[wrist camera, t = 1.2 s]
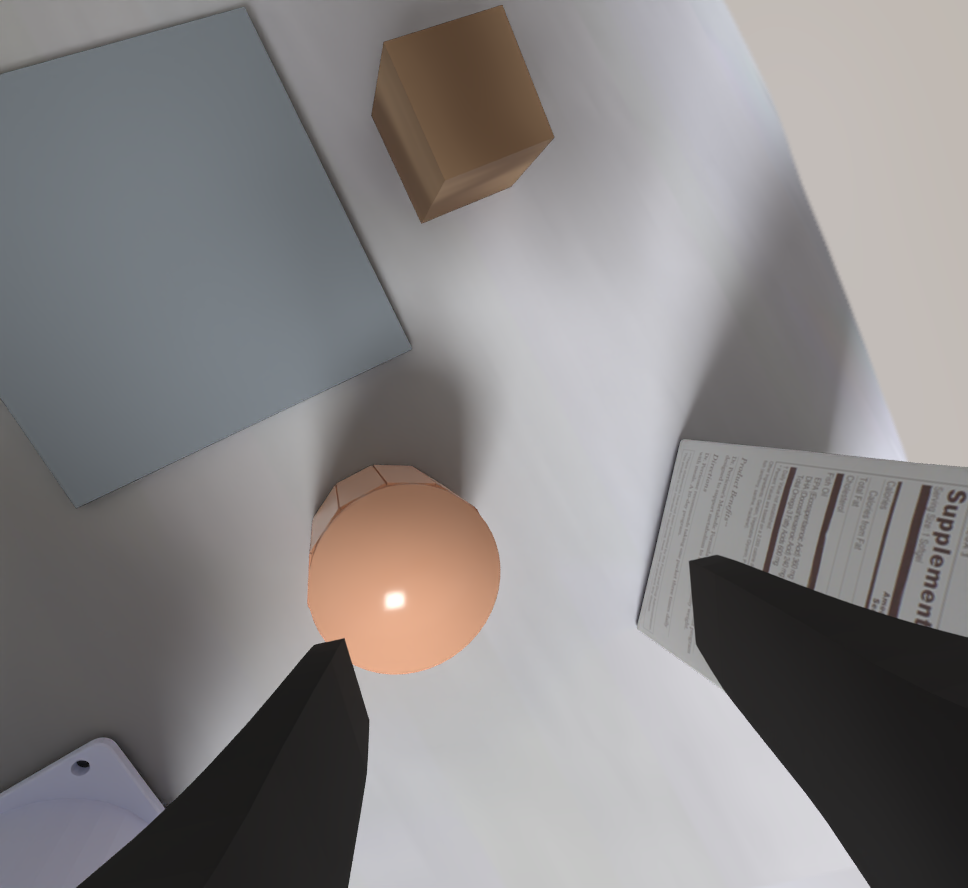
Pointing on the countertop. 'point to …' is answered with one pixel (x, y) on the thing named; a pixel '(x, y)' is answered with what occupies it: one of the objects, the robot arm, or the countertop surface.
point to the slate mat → (169, 254)
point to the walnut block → (458, 111)
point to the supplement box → (812, 534)
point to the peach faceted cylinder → (400, 570)
